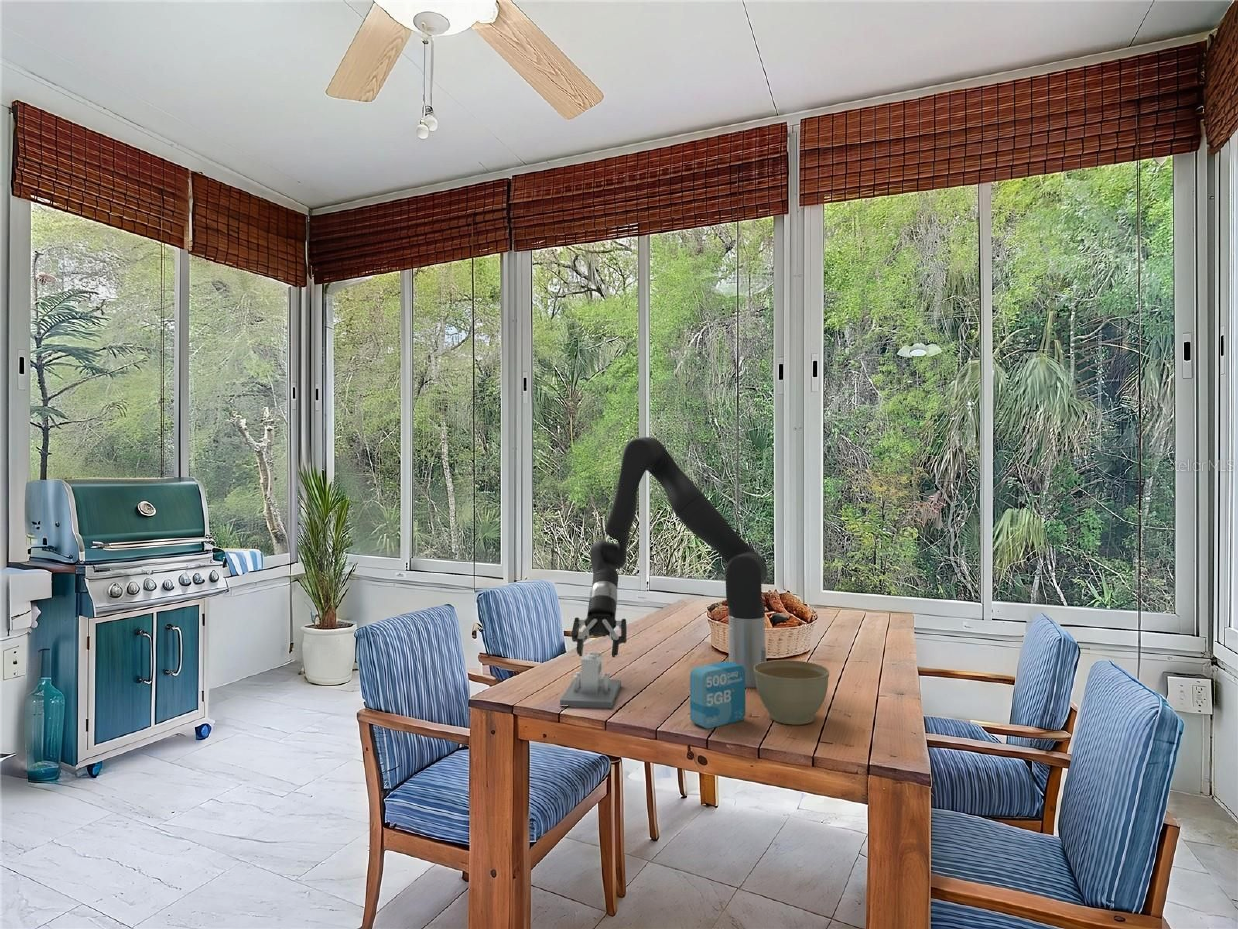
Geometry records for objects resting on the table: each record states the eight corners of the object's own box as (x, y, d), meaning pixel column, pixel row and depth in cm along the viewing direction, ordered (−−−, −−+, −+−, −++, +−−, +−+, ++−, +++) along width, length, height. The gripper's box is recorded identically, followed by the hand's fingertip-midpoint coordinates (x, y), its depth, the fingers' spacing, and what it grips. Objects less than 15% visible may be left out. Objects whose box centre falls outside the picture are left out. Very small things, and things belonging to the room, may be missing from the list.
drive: (601, 686, 173) (601, 653, 173) (598, 693, 167) (598, 659, 168) (585, 685, 174) (585, 653, 174) (581, 692, 168) (581, 659, 168)
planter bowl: (827, 709, 160) (826, 661, 160) (832, 734, 144) (831, 681, 145) (755, 704, 164) (755, 657, 164) (752, 728, 148) (752, 676, 148)
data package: (703, 730, 147) (702, 672, 147) (689, 724, 151) (689, 667, 151) (746, 719, 153) (745, 664, 154) (732, 714, 157) (731, 660, 157)
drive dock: (620, 685, 179) (620, 666, 179) (611, 708, 161) (611, 686, 161) (574, 684, 180) (574, 664, 180) (560, 706, 162) (560, 684, 162)
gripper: (575, 593, 189) (567, 646, 177) (628, 594, 187) (623, 648, 175) (578, 609, 194) (571, 662, 182) (630, 610, 192) (625, 664, 181)
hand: (596, 655), depth 179 cm, fingers open, 8 cm apart
